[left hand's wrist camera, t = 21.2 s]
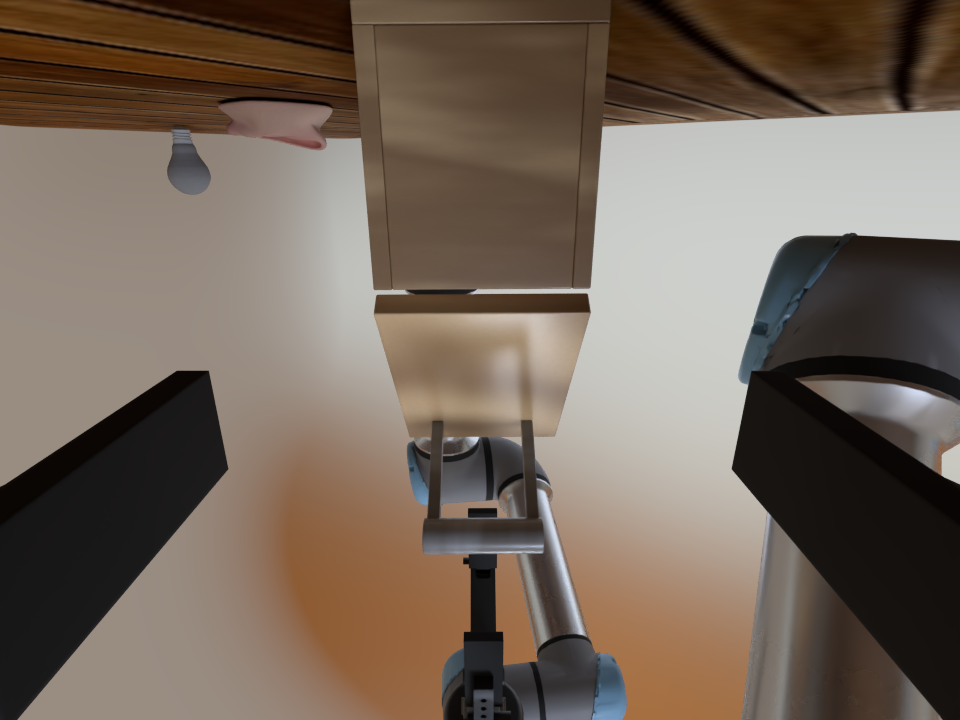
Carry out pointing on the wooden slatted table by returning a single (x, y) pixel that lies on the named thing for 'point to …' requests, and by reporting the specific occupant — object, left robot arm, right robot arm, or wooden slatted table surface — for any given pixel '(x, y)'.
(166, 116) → the wooden slatted table surface
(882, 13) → the wooden slatted table surface
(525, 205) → the chest
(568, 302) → the lid
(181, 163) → the light bulb
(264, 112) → the anatomical model
